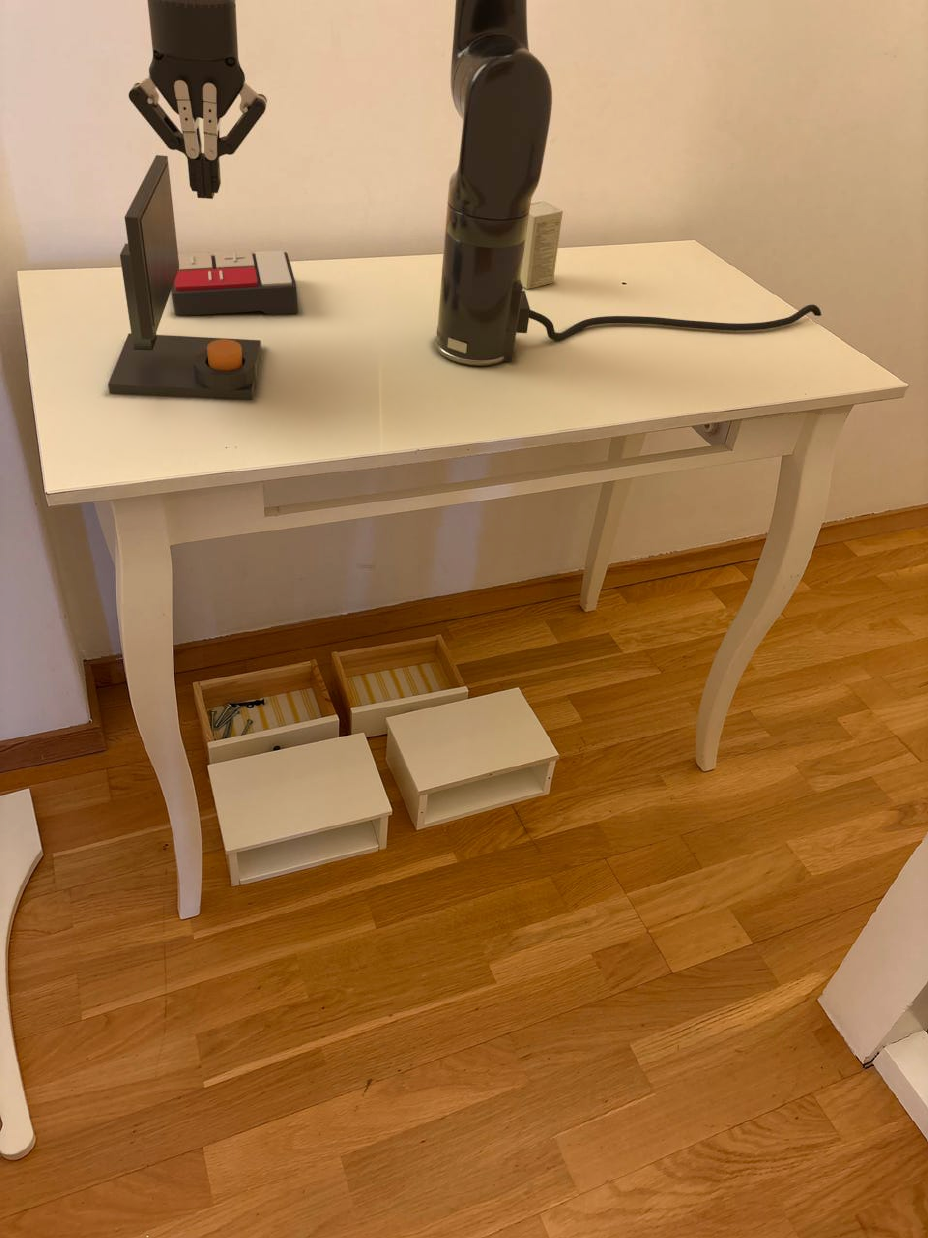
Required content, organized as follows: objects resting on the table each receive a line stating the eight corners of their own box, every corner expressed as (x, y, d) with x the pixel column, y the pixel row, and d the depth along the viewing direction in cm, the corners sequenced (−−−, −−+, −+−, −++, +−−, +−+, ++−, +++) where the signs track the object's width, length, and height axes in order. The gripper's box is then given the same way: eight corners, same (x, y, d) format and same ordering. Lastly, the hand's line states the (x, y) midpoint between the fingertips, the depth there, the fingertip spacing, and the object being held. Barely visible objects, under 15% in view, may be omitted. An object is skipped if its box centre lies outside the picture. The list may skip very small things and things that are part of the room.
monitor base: (263, 349, 113) (262, 325, 111) (254, 401, 104) (253, 376, 102) (129, 342, 111) (126, 318, 109) (109, 395, 102) (104, 369, 100)
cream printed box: (534, 272, 138) (545, 200, 131) (553, 283, 135) (565, 211, 129) (506, 277, 135) (515, 204, 129) (525, 289, 133) (535, 215, 126)
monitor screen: (180, 267, 109) (168, 155, 101) (154, 340, 95) (138, 217, 87) (162, 266, 108) (149, 154, 100) (134, 339, 95) (116, 216, 87)
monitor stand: (156, 337, 106) (144, 244, 99) (152, 350, 104) (139, 255, 97) (138, 336, 106) (125, 243, 99) (133, 349, 104) (119, 254, 97)
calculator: (168, 251, 122) (286, 245, 125) (173, 283, 125) (289, 277, 128) (170, 287, 114) (296, 280, 117) (175, 321, 117) (298, 313, 120)
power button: (243, 357, 106) (242, 339, 104) (240, 372, 103) (239, 355, 102) (210, 355, 105) (209, 338, 104) (206, 371, 102) (204, 353, 101)
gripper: (103, -10, 80) (131, 204, 91) (264, 7, 82) (271, 214, 93) (120, -25, 85) (144, 178, 97) (270, -10, 87) (276, 188, 99)
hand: (206, 195), depth 95 cm, fingers closed
